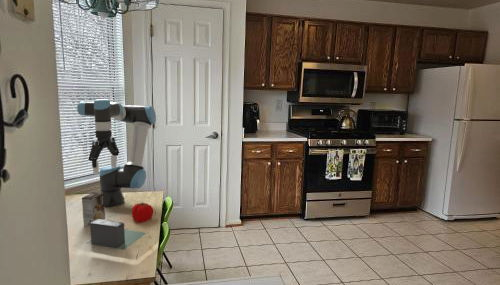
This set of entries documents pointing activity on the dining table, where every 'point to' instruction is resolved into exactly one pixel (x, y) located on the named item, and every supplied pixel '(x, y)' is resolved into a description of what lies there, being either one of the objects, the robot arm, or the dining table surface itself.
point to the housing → (107, 233)
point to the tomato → (142, 212)
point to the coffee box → (93, 207)
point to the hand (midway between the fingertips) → (105, 170)
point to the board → (128, 238)
